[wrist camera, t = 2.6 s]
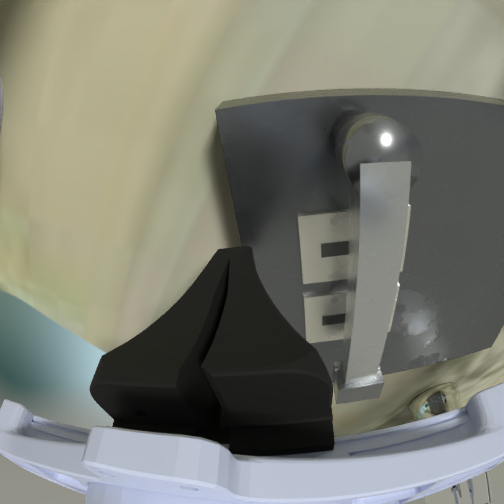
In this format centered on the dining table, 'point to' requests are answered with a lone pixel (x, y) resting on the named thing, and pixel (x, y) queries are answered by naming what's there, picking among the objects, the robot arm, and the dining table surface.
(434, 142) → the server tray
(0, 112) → the wedge on round base
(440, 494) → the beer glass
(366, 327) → the grey ball-ended handle
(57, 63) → the dining table surface
